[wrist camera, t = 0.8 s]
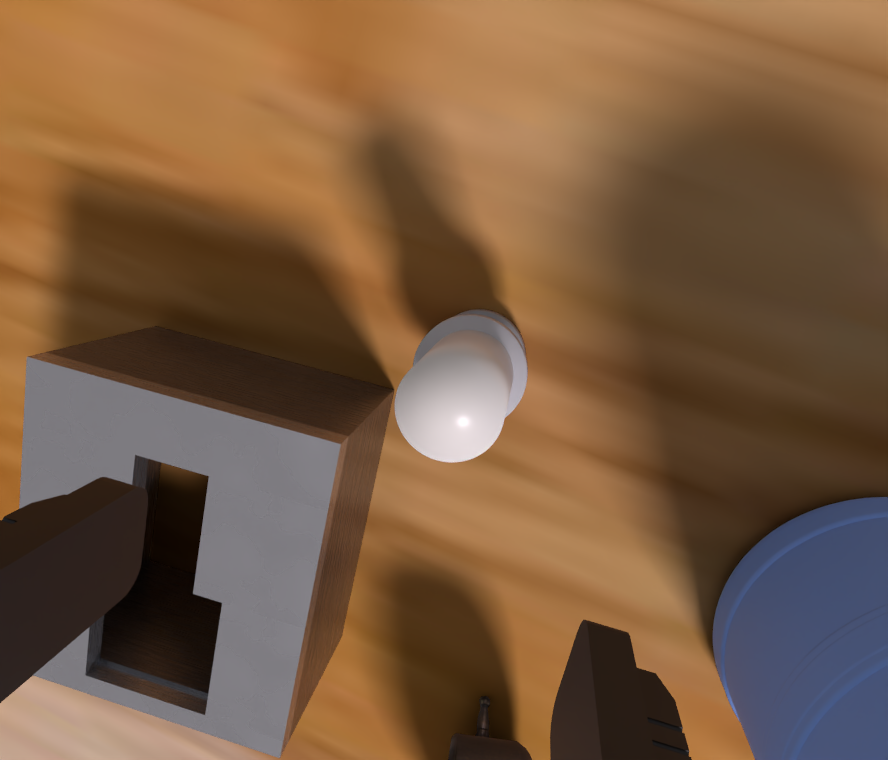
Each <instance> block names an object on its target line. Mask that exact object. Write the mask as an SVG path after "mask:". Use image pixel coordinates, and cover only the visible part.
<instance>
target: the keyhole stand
mask: <svg viewBox="0 0 888 760" xmlns="http://www.w3.org/2000/svg"><path fill="white" fill-rule="evenodd" d="M393 393H394V389H390V388H386V387H382V386H379V385H375V384H371V383H367V382H364V381H360V380H356V379H352V378H349V377H345V376H341V375H337V374H334V373H330V372H326V371H322V370H319V369H315V368H311V367H307V366H304V365H300V364H296V363H292V362H289V361H285V360H281V359H277V358H274V357H270V356H266V355H262V354H259V353H255V352H251V351H247V350H244V349H240V348H236V347H232V346H229V345H225V344H221V343H217V342H214V341H210V340H206V339H202V338H199V337H195V336H191V335H187V334H184V333H180V332H176V331H172V330H169V329H165V328H161V327H157V326H155V327H151V328H146V329H142V330H138V331H134V332H129V333H125V334H121V335H117V336H113V337H108V338H104V339H100V340H96V341H91V342H87V343H83V344H79V345H75V346H70V347H66V348H62V349H58V350H53V351H49V352H45V353H41V354H36V355H32V356H28V357H27V365H26V385H25V406H24V426H23V446H22V467H21V487H20V508H22V507H24V506H26V505H28V504H30V503H33V502H37V501H41V500H44V499H48V498H52V497H56V496H60V495H64V494H65V495H68V494H70V493H71V492H73V491H75V490H77V489H79V488H81V487H83V486H85V485H86V484H88V483H90V482H92V481H94V480H96V479H98V478H100V477H108V478H111V479H114V480H118V481H121V482H125V483H128V484H131V485H135V486H138V487H141V488H144V489H145V490H146V492H147V494H148V509H147V517H146V526H145V535H144V544H143V552H142V561H141V567H140V571H139V573H138V576H137V578H136V581H135V582H134V584H133V586H132V588H131V589H130V591H129V592H128V593H127V595H126V596H125V597H124V598H123V599H122V600H121V601H119V602H118V603H117V604H116V605H115V606H114V607H112V608H111V609H110V610H109V611H108V612H106V613H105V614H104V615H103V616H102V617H101V618H99V619H98V620H97V621H96V622H95V623H94V624H92V625H91V626H90V627H89V628H88V629H86V630H85V631H84V632H83V633H82V634H81V635H79V636H78V637H77V638H76V639H75V640H74V641H72V642H71V643H70V644H69V645H68V646H66V647H65V648H64V649H63V650H62V651H61V652H59V653H58V654H57V655H56V656H55V657H54V658H52V659H51V660H50V661H49V662H48V663H46V664H45V665H44V666H43V667H42V668H41V669H39V670H38V671H37V672H36V673H35V674H34V676H37V677H40V678H43V679H46V680H48V681H51V682H54V683H57V684H60V685H63V686H66V687H69V688H72V689H75V690H78V691H81V692H84V693H87V694H90V695H93V696H96V697H99V698H102V699H105V700H108V701H111V702H114V703H117V704H120V705H123V706H126V707H129V708H132V709H135V710H138V711H141V712H144V713H147V714H150V715H153V716H156V717H159V718H162V719H165V720H168V721H171V722H174V723H177V724H180V725H183V726H186V727H189V728H192V729H194V730H197V731H200V732H203V733H206V734H209V735H212V736H215V737H218V738H221V739H224V740H227V741H230V742H233V743H236V744H239V745H242V746H245V747H248V748H251V749H254V750H257V751H260V752H263V753H266V754H269V755H272V756H275V757H278V758H280V757H281V755H282V753H283V751H284V749H285V747H286V745H287V743H288V741H289V739H290V737H291V735H292V734H293V732H294V730H295V728H296V726H297V724H298V722H299V720H300V718H301V716H302V714H303V712H304V710H305V708H306V706H307V704H308V702H309V700H310V698H311V696H312V694H313V692H314V690H315V688H316V686H317V684H318V682H319V680H320V679H321V677H322V675H323V673H324V671H325V669H326V667H327V665H328V663H329V661H330V659H331V657H332V655H333V653H334V651H335V649H336V647H337V645H338V643H339V641H340V639H341V637H342V633H343V628H344V623H345V618H346V614H347V609H348V604H349V600H350V595H351V590H352V586H353V581H354V576H355V572H356V567H357V562H358V557H359V553H360V548H361V543H362V539H363V534H364V529H365V525H366V520H367V515H368V511H369V506H370V501H371V497H372V492H373V487H374V482H375V478H376V473H377V468H378V464H379V459H380V454H381V450H382V445H383V440H384V436H385V431H386V426H387V421H388V417H389V412H390V407H391V403H392V398H393ZM161 462H162V463H165V464H168V465H172V466H175V467H179V468H182V469H186V470H189V471H193V472H196V473H199V474H203V475H206V476H209V479H208V487H207V494H206V501H205V509H204V516H203V523H202V531H201V538H200V546H199V553H198V560H197V568H196V575H195V574H192V573H189V572H186V571H182V570H179V569H176V568H173V567H169V566H166V565H163V564H160V563H156V562H153V561H150V555H151V547H152V538H153V529H154V520H155V511H156V502H157V493H158V485H159V476H160V467H161ZM20 508H19V509H20Z"/></svg>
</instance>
